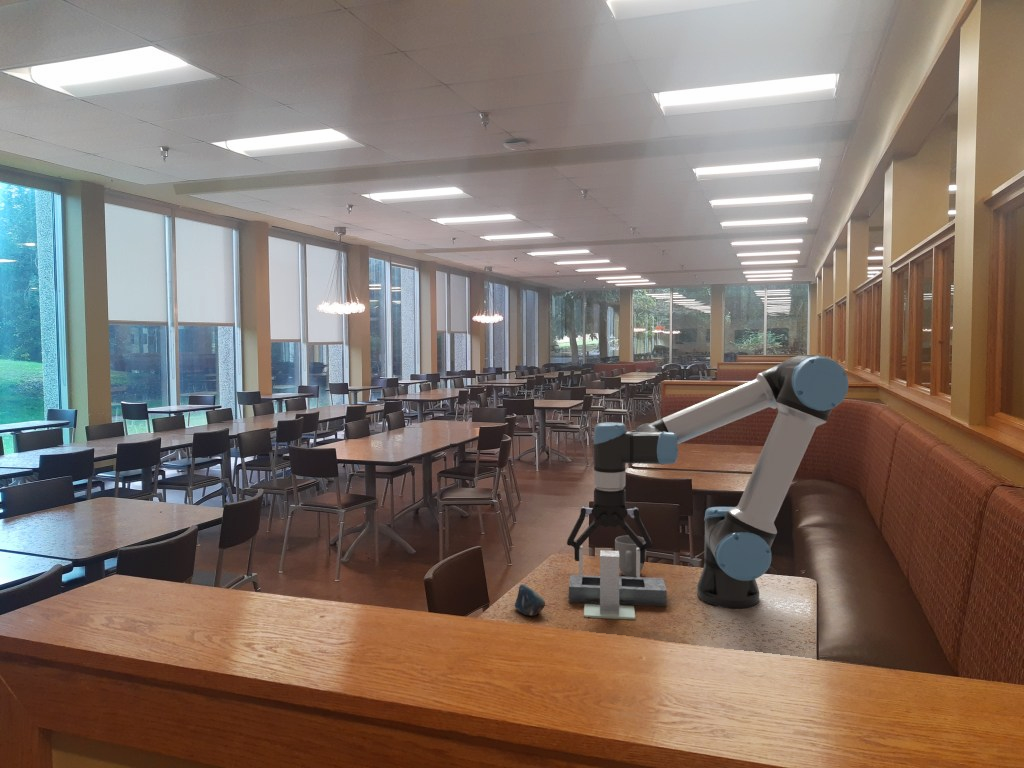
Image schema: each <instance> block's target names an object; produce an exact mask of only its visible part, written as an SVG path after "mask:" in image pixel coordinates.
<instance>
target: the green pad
mask: <svg viewBox="0 0 1024 768" xmlns="http://www.w3.org/2000/svg"><path fill="white" fill-rule="evenodd" d="M635 612H636V611H635V605H619V615H615V614H600V604H596V603H584V607H583V618H588V617H590V618H591V619H592V618H593V619H611V620H612V619H613V620H615V619H616V620H632V621H633V620H634V621H635V620H636V613H635Z"/></svg>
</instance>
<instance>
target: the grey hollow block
mask: <svg viewBox="0 0 1024 768" xmlns="http://www.w3.org/2000/svg"><path fill="white" fill-rule="evenodd" d="M568 583H569V584H568V603H577V604H578V603H579V604H581V603H582V604H596V605H600V575H595V574H593V575H592V574H591V575H589V574H583V575H582V576H579V574H570V575H569V582H568ZM667 593H668V592H667V587H666V583H665V578H664V577H644V576H643V577H642V576H640V578H637V576H620V575H619V606H645V607H646V606H648V607H667V604H668V603H667V596H668V595H667Z"/></svg>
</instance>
